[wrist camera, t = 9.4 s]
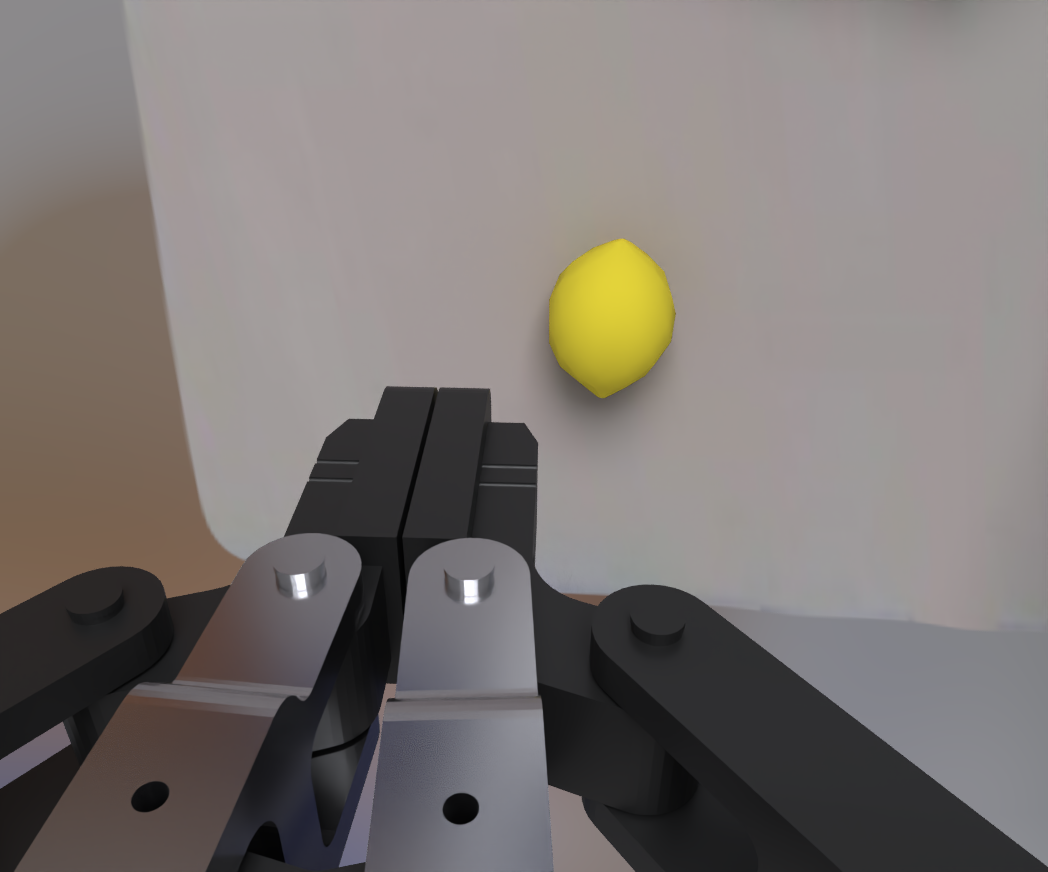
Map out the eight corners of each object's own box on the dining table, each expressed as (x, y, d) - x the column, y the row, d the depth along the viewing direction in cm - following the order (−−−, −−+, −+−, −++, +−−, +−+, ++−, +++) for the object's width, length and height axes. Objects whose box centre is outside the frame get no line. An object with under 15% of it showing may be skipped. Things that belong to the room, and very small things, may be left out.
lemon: (557, 219, 40) (558, 245, 35) (679, 233, 40) (697, 261, 35) (539, 369, 43) (537, 412, 38) (653, 381, 43) (666, 427, 38)
